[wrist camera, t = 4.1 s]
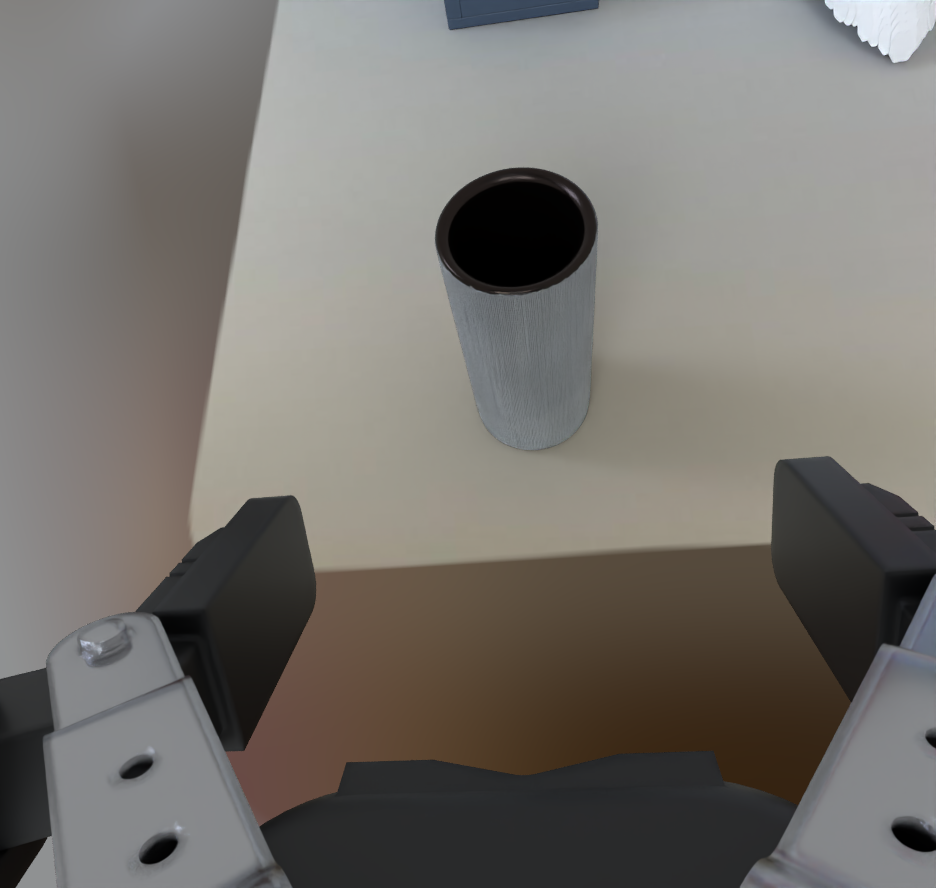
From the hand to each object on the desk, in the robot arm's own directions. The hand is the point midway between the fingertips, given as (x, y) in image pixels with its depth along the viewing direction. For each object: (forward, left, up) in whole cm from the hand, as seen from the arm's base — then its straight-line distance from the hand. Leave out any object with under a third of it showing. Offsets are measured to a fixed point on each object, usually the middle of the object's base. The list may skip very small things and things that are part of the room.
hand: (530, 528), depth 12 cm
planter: (0, +10, -14) cm, 17 cm away
